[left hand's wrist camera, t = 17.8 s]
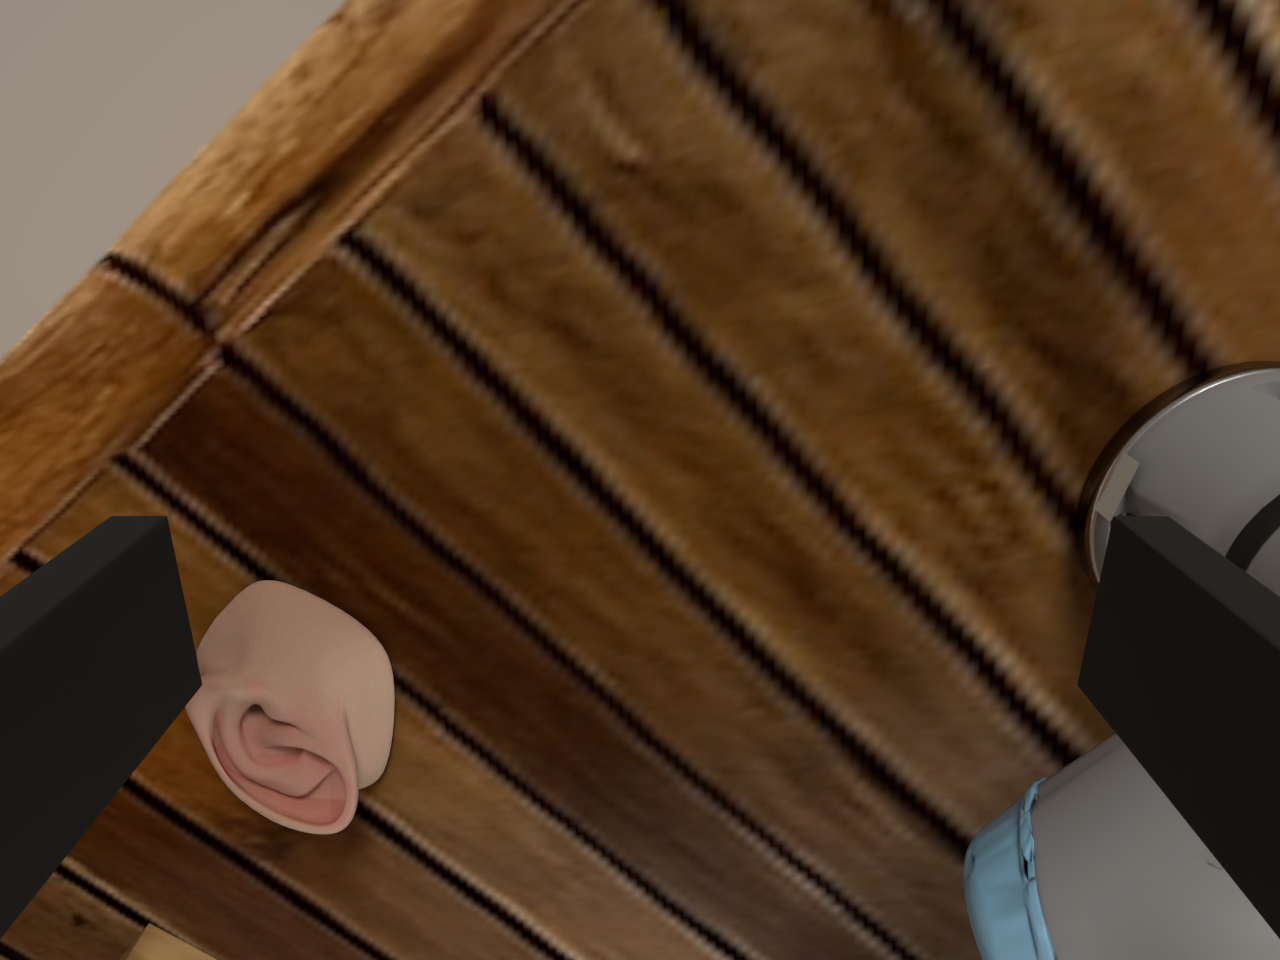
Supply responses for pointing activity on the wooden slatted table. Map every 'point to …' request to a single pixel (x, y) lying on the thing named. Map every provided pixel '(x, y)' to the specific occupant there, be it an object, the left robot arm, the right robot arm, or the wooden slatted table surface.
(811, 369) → the wooden slatted table surface
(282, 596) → the anatomical model
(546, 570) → the wooden slatted table surface
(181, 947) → the box
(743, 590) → the wooden slatted table surface
